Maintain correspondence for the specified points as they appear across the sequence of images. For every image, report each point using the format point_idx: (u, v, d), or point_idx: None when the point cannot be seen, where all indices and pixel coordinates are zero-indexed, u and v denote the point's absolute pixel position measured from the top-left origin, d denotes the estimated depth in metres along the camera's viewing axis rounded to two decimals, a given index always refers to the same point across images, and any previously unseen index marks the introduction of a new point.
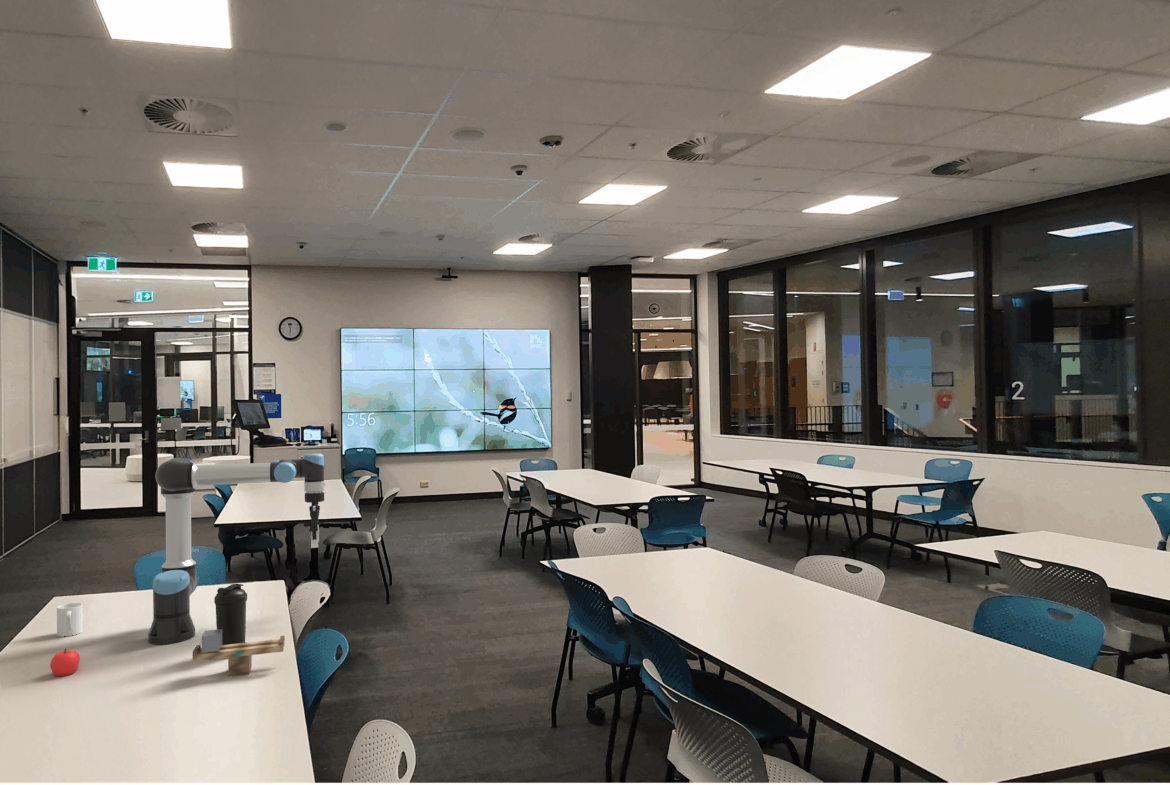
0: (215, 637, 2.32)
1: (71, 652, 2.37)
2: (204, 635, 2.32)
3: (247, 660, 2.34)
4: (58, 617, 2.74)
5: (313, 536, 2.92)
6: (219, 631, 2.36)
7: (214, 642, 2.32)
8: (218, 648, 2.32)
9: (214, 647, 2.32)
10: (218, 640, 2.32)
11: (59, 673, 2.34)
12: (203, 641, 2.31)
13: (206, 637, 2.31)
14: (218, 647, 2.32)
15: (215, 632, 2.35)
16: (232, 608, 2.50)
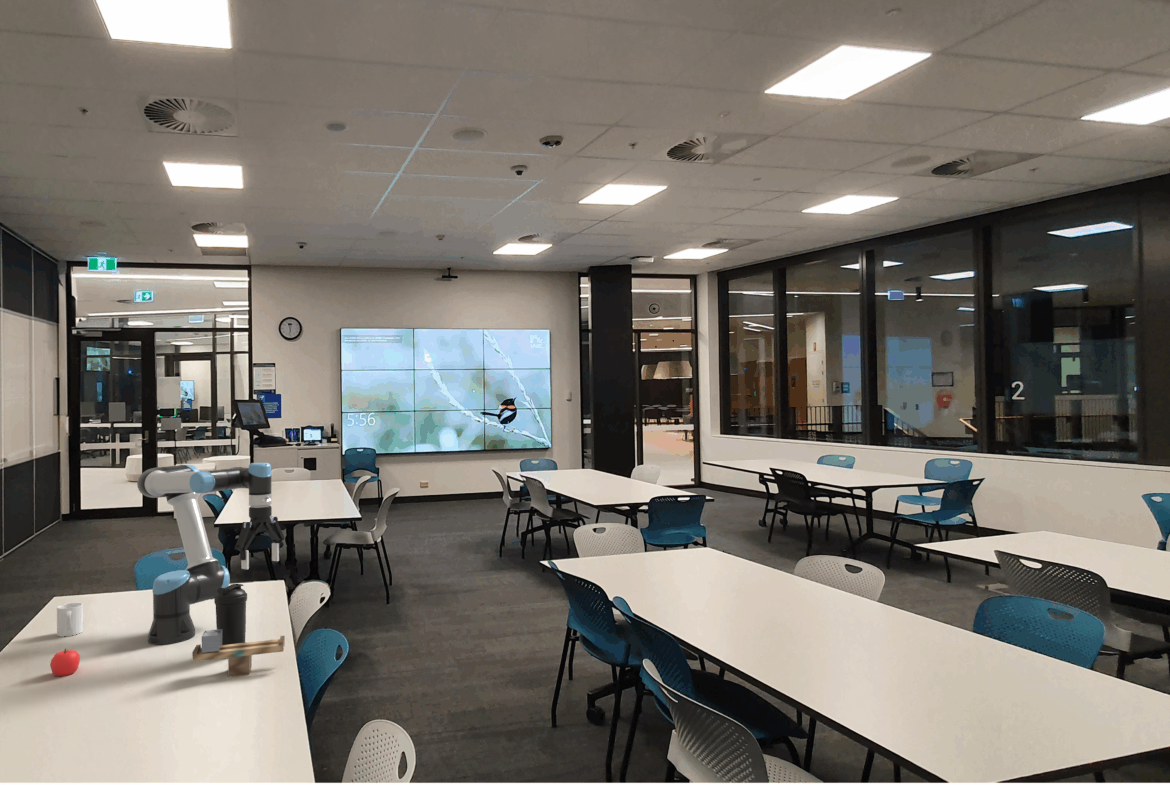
0: (215, 637, 2.32)
1: (71, 652, 2.37)
2: (204, 635, 2.32)
3: (247, 660, 2.34)
4: (58, 617, 2.74)
5: (241, 556, 2.60)
6: (219, 631, 2.36)
7: (214, 642, 2.32)
8: (218, 648, 2.32)
9: (214, 647, 2.32)
10: (218, 640, 2.32)
11: (59, 673, 2.34)
12: (203, 641, 2.31)
13: (206, 637, 2.31)
14: (218, 647, 2.32)
15: (215, 632, 2.35)
16: (232, 608, 2.50)
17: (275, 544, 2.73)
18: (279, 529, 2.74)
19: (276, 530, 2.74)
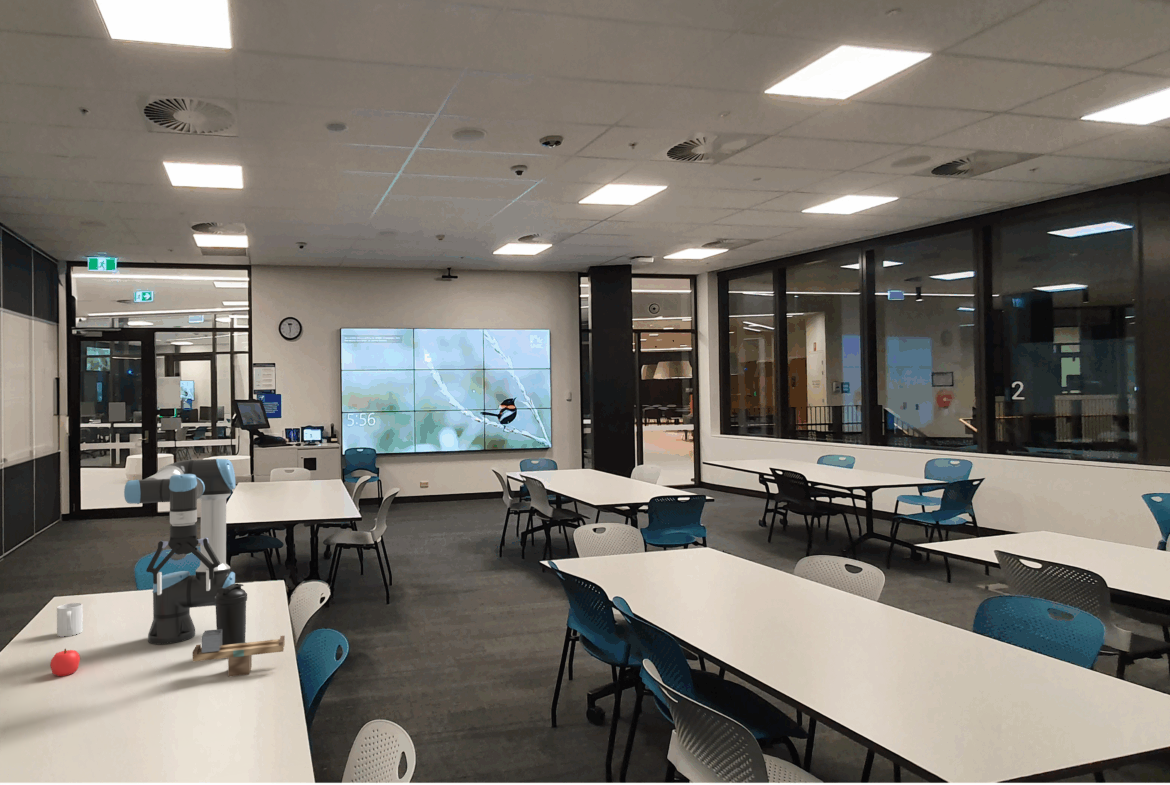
0: (215, 637, 2.32)
1: (71, 652, 2.37)
2: (204, 635, 2.32)
3: (247, 660, 2.34)
4: (58, 617, 2.74)
5: None
6: (219, 631, 2.36)
7: (214, 642, 2.32)
8: (218, 648, 2.32)
9: (214, 647, 2.32)
10: (218, 640, 2.32)
11: (59, 673, 2.34)
12: (203, 641, 2.31)
13: (206, 637, 2.31)
14: (218, 647, 2.32)
15: (215, 632, 2.35)
16: (232, 608, 2.50)
17: None
18: (210, 553, 2.33)
19: None
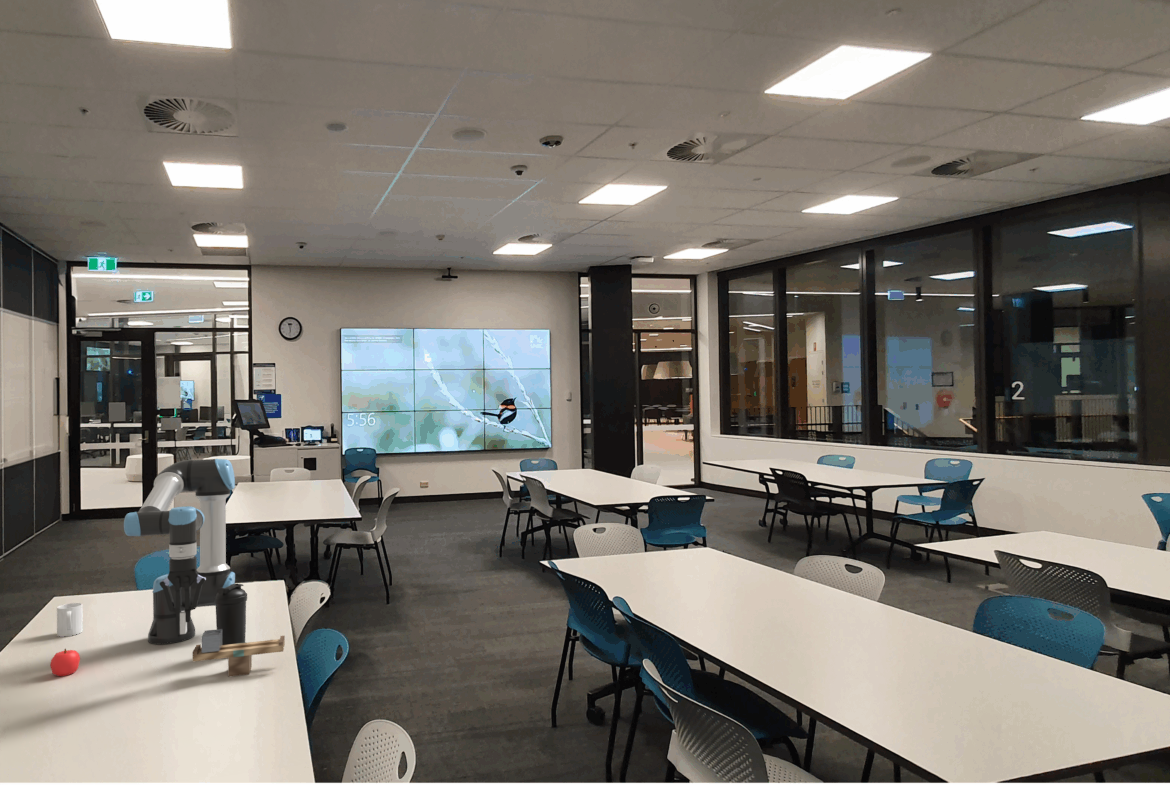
0: (215, 637, 2.32)
1: (71, 652, 2.37)
2: (204, 635, 2.32)
3: (247, 660, 2.34)
4: (58, 617, 2.74)
5: None
6: (219, 631, 2.36)
7: (214, 642, 2.32)
8: (218, 648, 2.32)
9: (214, 647, 2.32)
10: (218, 640, 2.32)
11: (59, 673, 2.34)
12: (203, 641, 2.31)
13: (206, 637, 2.31)
14: (218, 647, 2.32)
15: (215, 632, 2.35)
16: (232, 608, 2.50)
17: None
18: (196, 594, 2.32)
19: (195, 593, 2.33)
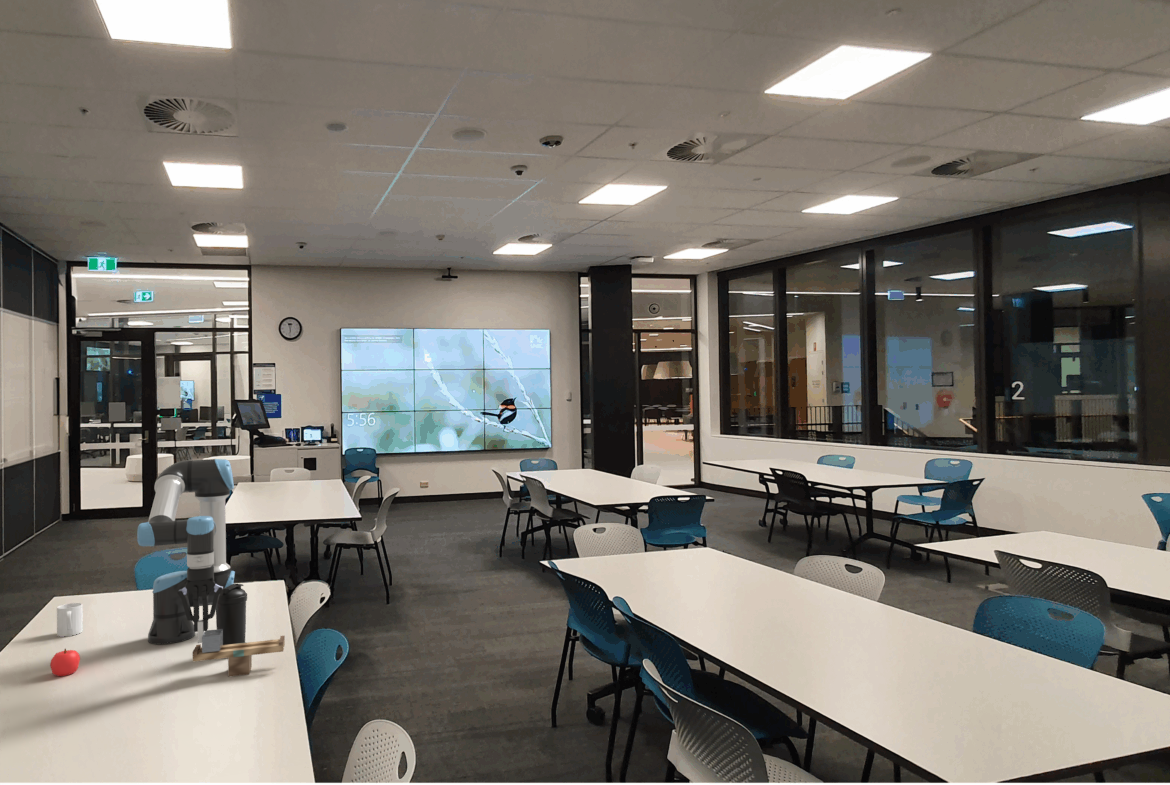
0: (215, 637, 2.32)
1: (71, 652, 2.37)
2: (204, 635, 2.32)
3: (247, 660, 2.34)
4: (58, 617, 2.74)
5: None
6: (219, 631, 2.36)
7: (214, 642, 2.32)
8: (218, 648, 2.32)
9: (214, 647, 2.32)
10: (218, 640, 2.32)
11: (59, 673, 2.34)
12: (203, 641, 2.31)
13: (207, 637, 2.31)
14: (218, 647, 2.32)
15: (215, 632, 2.35)
16: (232, 608, 2.50)
17: None
18: (214, 603, 2.33)
19: (212, 602, 2.34)
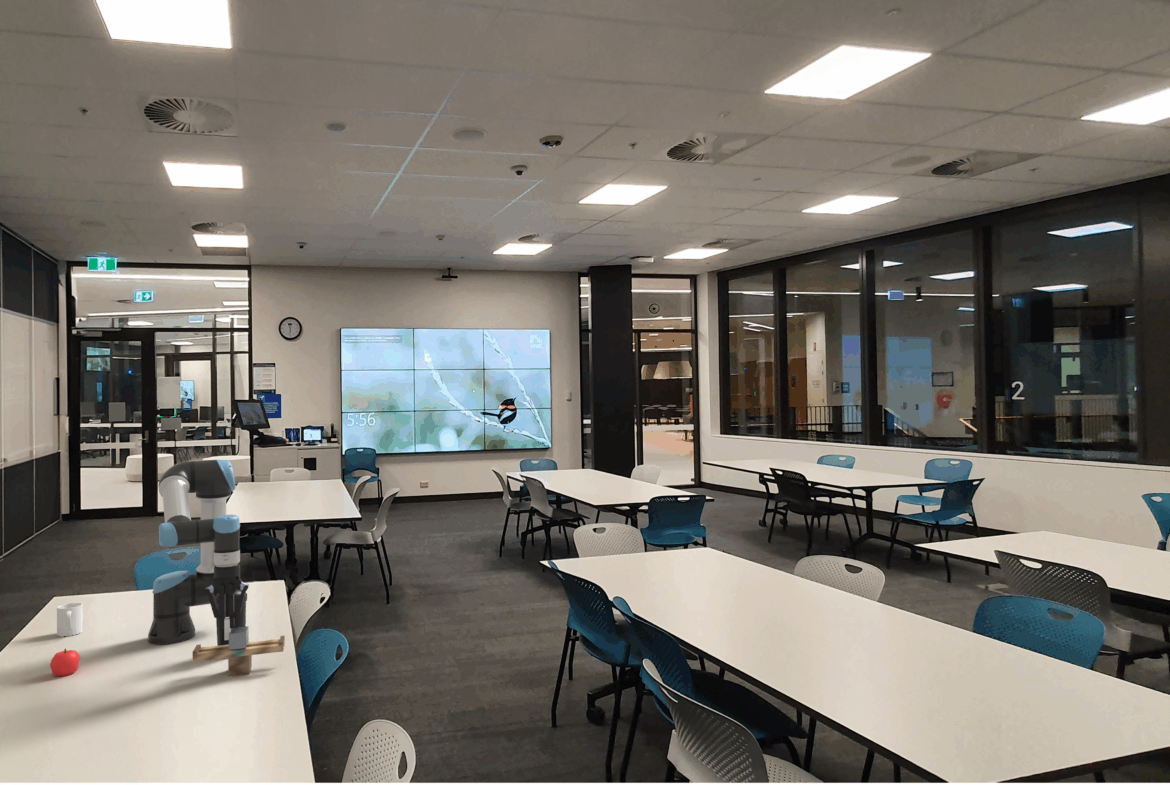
0: (242, 634, 2.34)
1: (71, 652, 2.37)
2: (231, 632, 2.34)
3: (247, 660, 2.34)
4: (58, 617, 2.74)
5: (221, 624, 2.35)
6: (245, 628, 2.38)
7: (241, 640, 2.34)
8: (245, 645, 2.34)
9: (241, 644, 2.34)
10: (245, 637, 2.35)
11: (59, 673, 2.34)
12: (230, 638, 2.33)
13: (233, 635, 2.33)
14: (245, 644, 2.34)
15: (242, 629, 2.37)
16: None
17: None
18: (240, 601, 2.36)
19: (239, 600, 2.37)
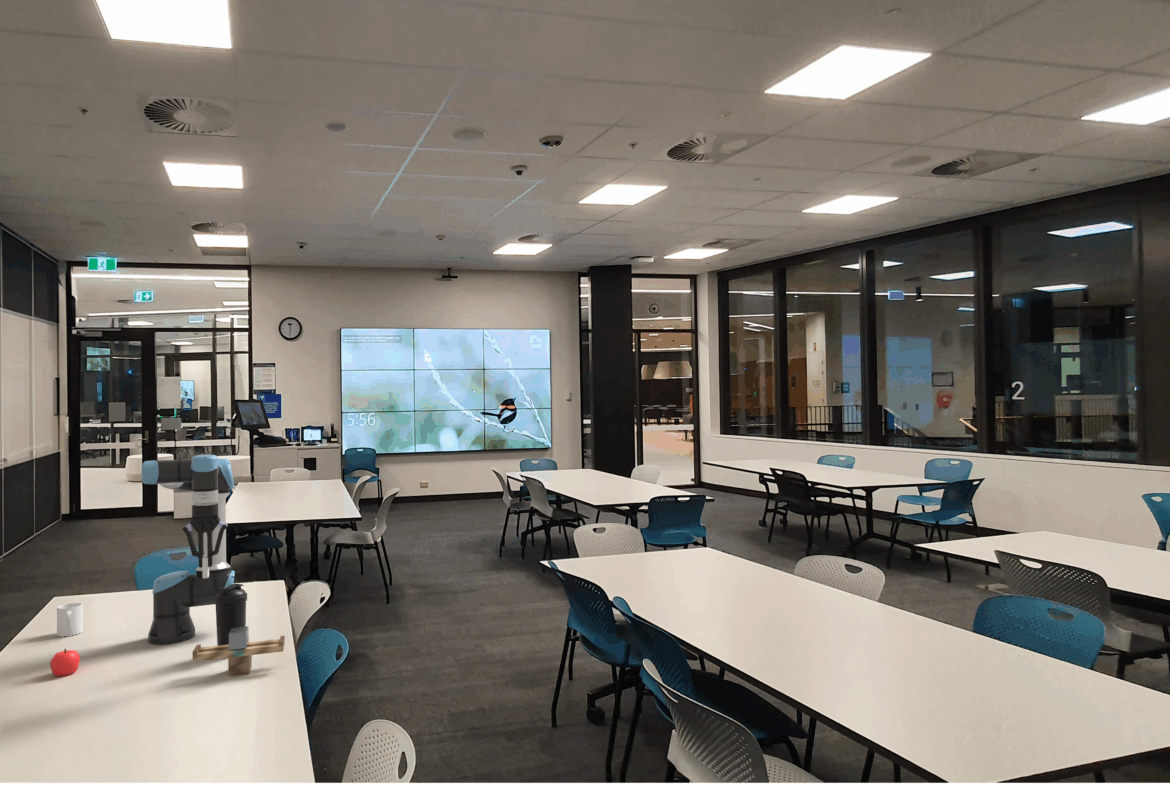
0: (242, 634, 2.34)
1: (71, 652, 2.37)
2: (231, 632, 2.34)
3: (247, 660, 2.34)
4: (58, 617, 2.74)
5: None
6: (245, 628, 2.38)
7: (241, 640, 2.34)
8: (245, 645, 2.34)
9: (241, 644, 2.34)
10: (245, 637, 2.35)
11: (59, 673, 2.34)
12: (230, 638, 2.33)
13: (233, 635, 2.33)
14: (245, 644, 2.34)
15: (242, 629, 2.37)
16: (232, 608, 2.50)
17: None
18: (218, 540, 2.37)
19: (217, 539, 2.38)
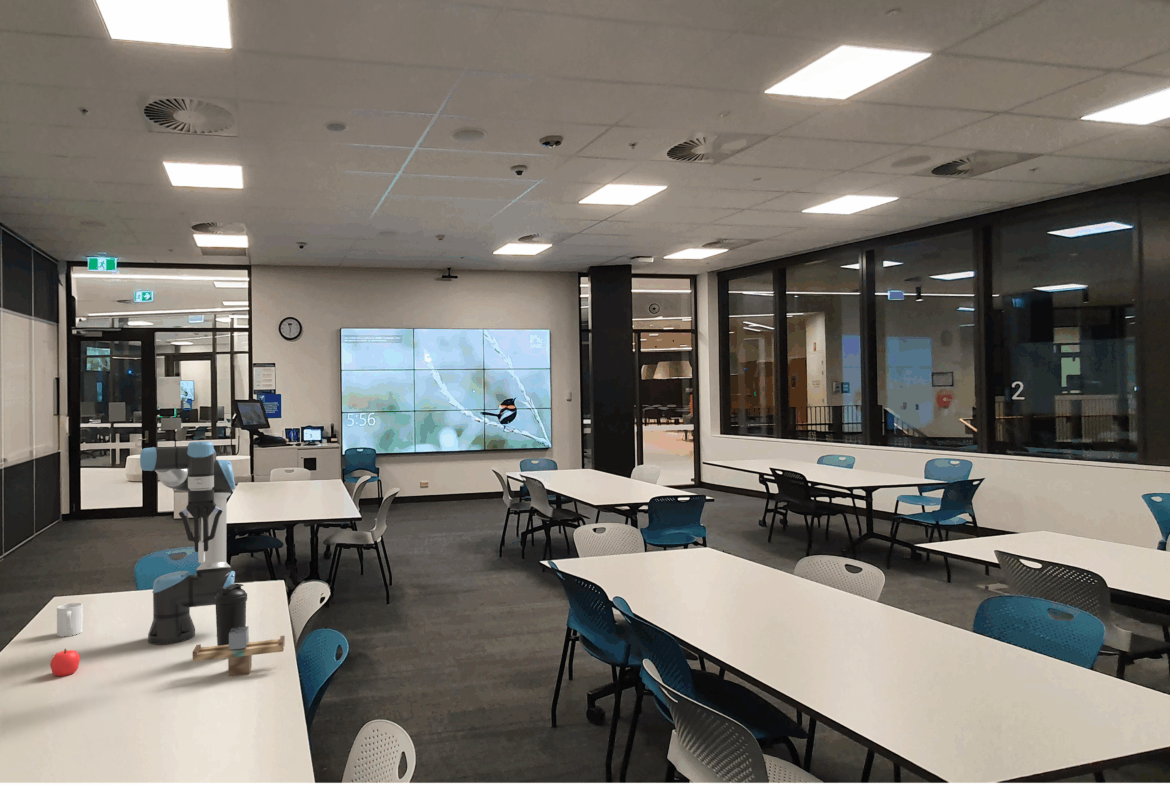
0: (242, 634, 2.34)
1: (71, 652, 2.37)
2: (231, 632, 2.34)
3: (247, 660, 2.34)
4: (58, 617, 2.74)
5: None
6: (245, 628, 2.38)
7: (241, 640, 2.34)
8: (245, 645, 2.34)
9: (241, 644, 2.34)
10: (245, 637, 2.35)
11: (59, 673, 2.34)
12: (230, 638, 2.33)
13: (233, 635, 2.33)
14: (245, 644, 2.34)
15: (242, 629, 2.37)
16: (232, 608, 2.50)
17: None
18: (214, 525, 2.41)
19: (213, 524, 2.42)
